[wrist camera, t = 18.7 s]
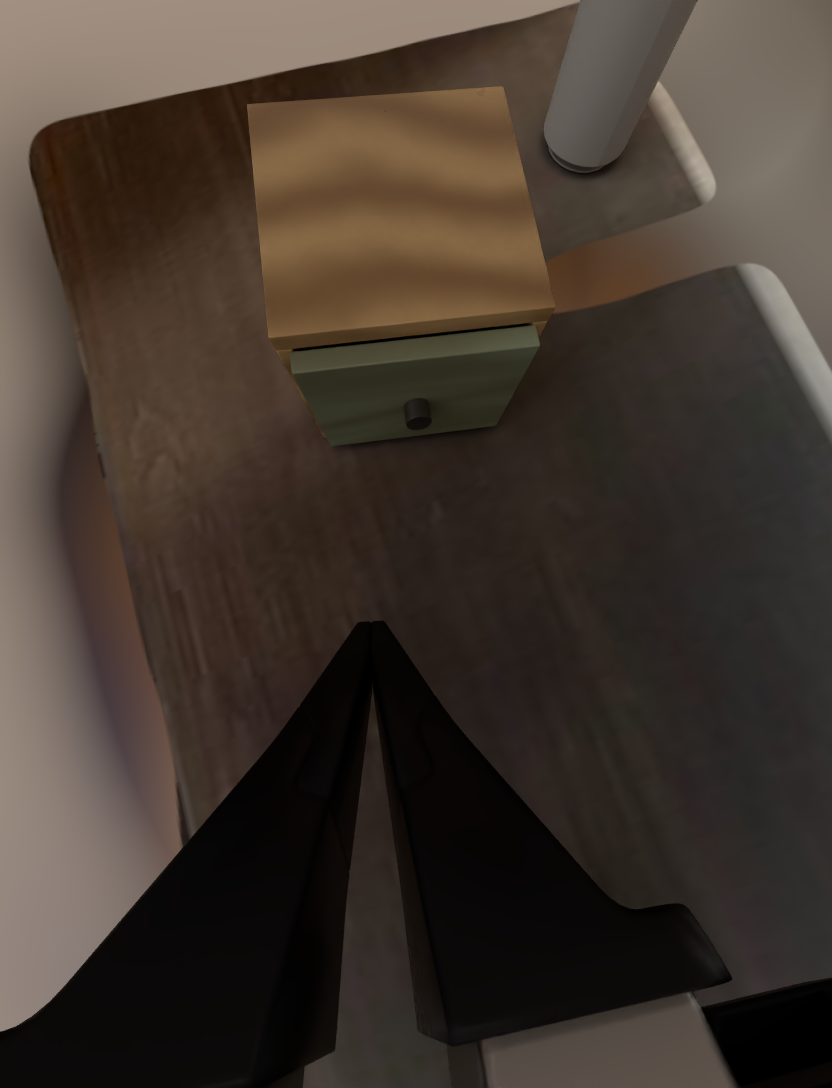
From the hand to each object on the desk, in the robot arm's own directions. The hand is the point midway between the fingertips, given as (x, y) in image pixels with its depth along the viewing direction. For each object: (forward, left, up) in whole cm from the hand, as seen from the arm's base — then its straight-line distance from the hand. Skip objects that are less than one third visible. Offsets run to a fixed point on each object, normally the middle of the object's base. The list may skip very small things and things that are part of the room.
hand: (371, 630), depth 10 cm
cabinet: (+18, -10, -12) cm, 24 cm away
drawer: (+15, -9, -11) cm, 21 cm away
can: (+28, -34, -13) cm, 46 cm away
